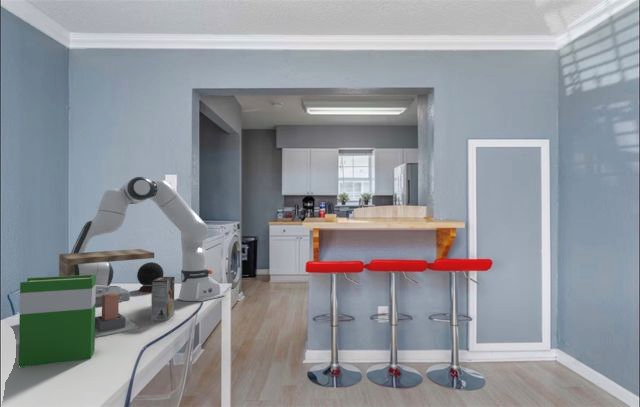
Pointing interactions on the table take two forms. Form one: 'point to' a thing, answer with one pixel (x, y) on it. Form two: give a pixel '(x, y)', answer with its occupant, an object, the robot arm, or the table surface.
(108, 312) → the peg
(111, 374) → the table surface
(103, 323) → the socket
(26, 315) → the hardback book
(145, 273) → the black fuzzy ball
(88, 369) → the table surface
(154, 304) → the coffee box
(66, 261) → the l-shaped wooden plank
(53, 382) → the table surface
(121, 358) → the table surface
